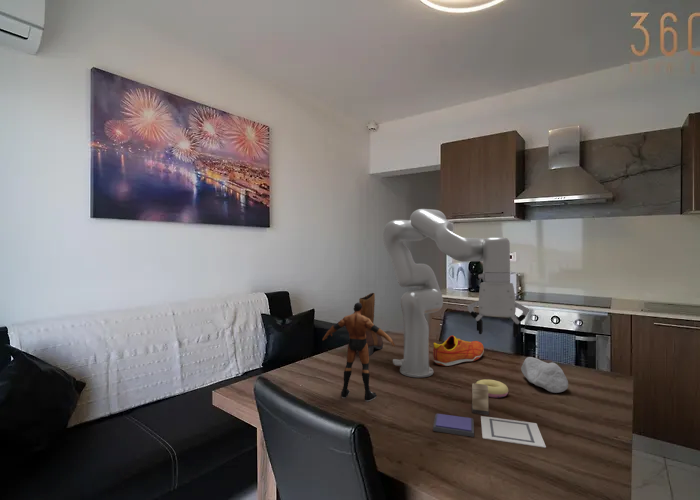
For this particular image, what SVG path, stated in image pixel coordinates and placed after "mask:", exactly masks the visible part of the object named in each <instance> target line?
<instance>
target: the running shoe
mask: <svg viewBox="0 0 700 500" xmlns="http://www.w3.org/2000/svg"><path fill="white" fill-rule="evenodd" d="M484 352H485V347H484V344H483V343H482V342H480V341H479V340H473V341H467V340H463V339H461V338H458V337H457V336H454V335H453V334H452V335H450V336H449V337H448V338H447V339H446V340H445V341H444V342H443V343H441V344H439V343H436V342H433V352H432V353H433V354H432V356H433V361H434V363H435V365H438V366H441V367H448V366H449V367H451V366H455V365H458V364H461V363H465V362H466V363H467V362H475V361H477V360H479V359H480V358H481V357H482V356H483V354H484Z"/></svg>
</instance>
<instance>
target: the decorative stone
mask: <svg viewBox="0 0 700 500" xmlns="http://www.w3.org/2000/svg"><path fill="white" fill-rule="evenodd" d="M520 370H521V373H522V375H523V376H524V377H525V378H526V380H527V381H528V382H529V383H531V384H534V385H535V386H536V387H540V388H543V389H545V390H546V391H548V392H550V393H554V394H555V393H556V394H557V393H562V392H565V391H566V390H568V387H569V381H568V378H567V376H566V374H565V373H564V370H563V369H562V368H561V366H560V365H558V364H557V363H555V362H549V363H548V362H546V361H543V360H540V359H539V358H537V357H532V356H527V357H526V358H525V359H524V361H523V363H522V364H521V367H520Z"/></svg>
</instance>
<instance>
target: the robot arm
mask: <svg viewBox="0 0 700 500" xmlns="http://www.w3.org/2000/svg"><path fill="white" fill-rule="evenodd" d="M382 237H383V238H382V240H383V244H384V246H385V249H386V251H387V254H388V255H389V258H390V260H391V264H392V267H393V272H394V274H395V278H396V280H397V282H398V284H399V286H400V287H402V288H406V289H410V288H411V290H408V291H406V292H404V293H403V294H402V296H401V298H400V308H401V312H402V321H403V322H402V323H403V358H401V359H398V358H397V359H396V358H393V359H392V365H394V366H397V367H399V372H400V373H401V374H402V375H404V376H406V377H410V378H415V379H417V378H419V379H420V378H428V377H431V376H433V374H434V369H433V368H432V367H430V327H429V323H428V321H427V319H426V316H425V314H432V313H436V312H439V311H440V310H441V309H442V307H443V306H444V297H443V293H442V291H441V288H440V285H439V283H438V282H439V281H438V279H437V276H436V274H435V272H434V270H433V269H432V267H431V266H430V265H428V264H426V263H416V262H415V260H414V258H413V254H412V252H411V251H410V249H409V247H408V246H407V245H406V244H405V243H404V242H420V241H423V240H425V239H427V238H429V239H431V240H432V241H434V242H435V244H436V246H437V248H438V249H439V251H440V252H441V253H443V254H445V255H446V256H448V257H449V258H451V259H453V260H454V261H458V262H461V263H462V262H463V263H465V262H483V263H482V266H483V267H482V269H483V272H482V273H479V274H478V276H477V277H478V279H481V280H482V281H483V282H480V286H479V291H478V292H479V293H478V300H476V301H475V302H472V303H470V304H468V305H467V306H466V308H467V310H468V312H469V313H470V315H471V316H472V318H474V320H475V321H476V331H477V332H478V334H479V335H482V334H483V332H484V331H483V330H484V328H483V321H484V320H483V319H482V318H483V317H494V318H510V319H511V320H513V325H512V329H513V334H512V337H513V338H517V336H518V335H520V323H521V322H522V321H524V320H525V319H526V317H527V315H528V313H530V308H528V307H526V306H524V305H523V304H520V303H519V302H517V301H516V294H515V293H516V292H515V288H514V283H513V282H511V252H510V250H511V247H510V246H511V245H510V244H511V243H510V240H509V239H508V238H506V237H503V236H502V237H496V236H495V237H486V238H483V237H481V238H480V237H464V236H460V235H458V234H456V233H454V225H453V223H452V222H451V221H450V220H448V219H447V216H446V215H445V214H444V213H443V212H442V211H441V210H438V209H432V208H431V209H430V208H418V209H416V210H414V211H413V212H411V214H410V217H409V219H393V220H390V221H389V222H386V224H385V226H384V228H383V233H382ZM412 288H417V289H412ZM476 307H478V313H477V312H476V311H475V310H474V308H476ZM517 309H518V310H520V311H522V313H521V315H519V316H517V315H516V312H517V311H516V310H517Z"/></svg>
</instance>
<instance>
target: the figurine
mask: <svg viewBox="0 0 700 500" xmlns="http://www.w3.org/2000/svg"><path fill="white" fill-rule="evenodd" d="M353 311H354V312H353V313H351V314H348V315H345V316H344V317H343V318H341V320H339V321H338V322H336V323H335V324H332V325H331V327H330V328H329V329H328V330H327V331H326V333H325V334H324V336H323V337H322V341H325V340H327V339H328V337H329V336H331V337H333V333H337V331H338V330H339V329H342V328H344V327H345V329H346V331H347V332H348V336H349V337H348V338H349V340H348V345H347V352H346V353H347V354H346V365H345V368H344V371H343V387H342V389H341V393H340V394H341V398H342V399H347V397H348V396H349V394H350V392H351V391H350V390H349V389H348V388H349V382H350V379H351V375H352V371H353V370H352V368H353V367H352V366H353V364H354V362H355V359H356V357H357V356H356V354H357V353H358V352H359V356H358V358H359V359H360V363H361V366H362V369H361V378H362V381H363V387H364V401H365V402H371V401H372V400H374V399H376V398H377V397H378V396H377V394H376V392H372V390H371V389H370V371H369V368H370V367H369V366H370V365H369V364H370V356H369V352H368V345H367V341H366V329H367V327H368V328H369V329H370V330H372V331H374V332H375V333H376V334H377V335H379V336H381V338H382V337H383V339H385V340H386V341H387V342H389V343H390V344H391V346H392V347H395V346H396V345H395V344H396V343H395V342H394V341H393V338H392V337H390V335H388V334H387V333H386V332H385V330H383V329H381V328H380V327H378V326H377V325H375V324H374V322H373V323H372V322H371V320H370V319H369V318H367V317H365V316H363V315H361V313H362V304H361V303H359V302H356V303H354V305H353Z"/></svg>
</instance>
